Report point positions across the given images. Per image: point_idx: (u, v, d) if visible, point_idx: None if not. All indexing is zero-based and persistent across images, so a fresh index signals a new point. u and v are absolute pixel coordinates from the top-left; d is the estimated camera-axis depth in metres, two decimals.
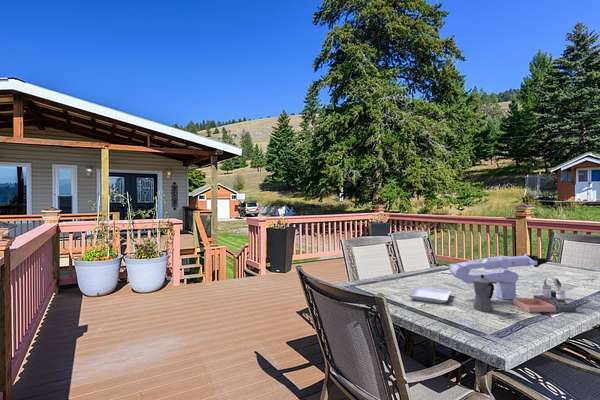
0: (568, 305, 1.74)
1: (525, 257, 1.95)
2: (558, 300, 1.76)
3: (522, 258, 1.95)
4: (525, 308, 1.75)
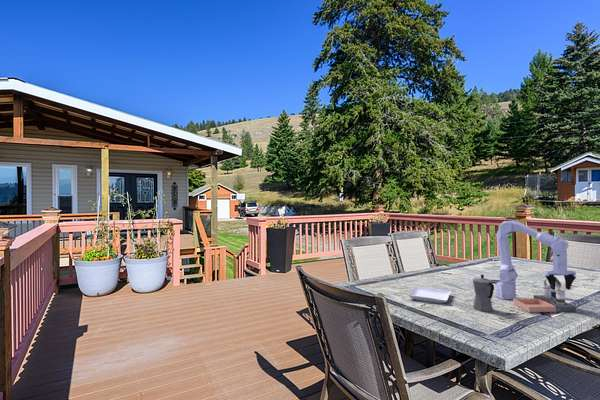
0: (568, 305, 1.74)
1: (560, 270, 1.74)
2: (558, 300, 1.76)
3: (558, 266, 1.75)
4: (525, 308, 1.75)
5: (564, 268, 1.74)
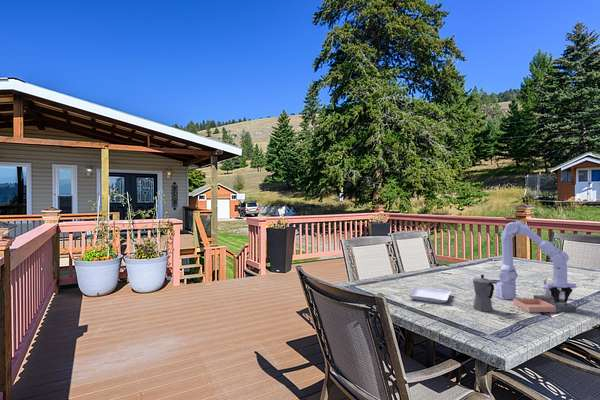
0: (568, 305, 1.74)
1: (560, 283, 1.74)
2: None
3: (558, 279, 1.75)
4: (525, 308, 1.75)
5: (564, 281, 1.74)
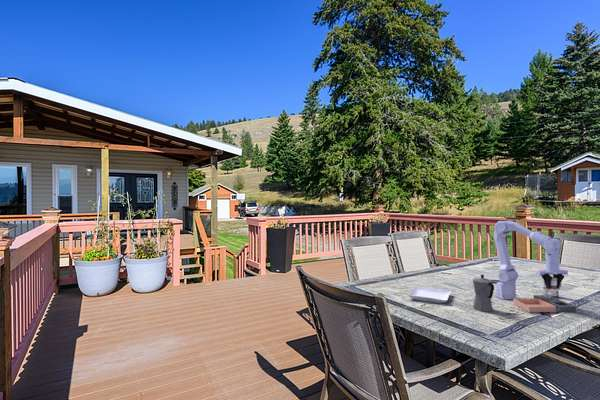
0: (568, 305, 1.74)
1: (552, 270, 1.75)
2: None
3: (551, 266, 1.75)
4: (525, 308, 1.75)
5: (556, 267, 1.74)
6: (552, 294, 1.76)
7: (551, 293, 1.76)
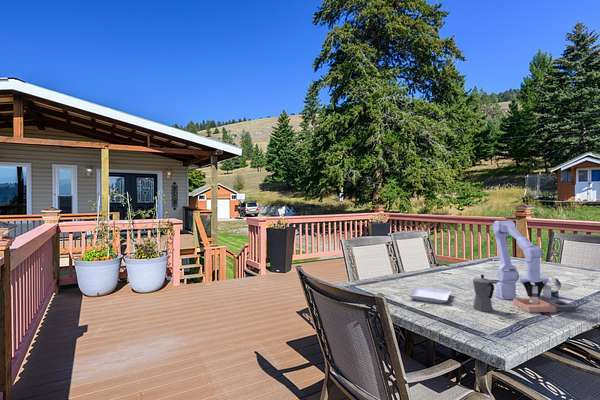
0: (568, 305, 1.74)
1: (532, 278, 1.76)
2: None
3: (531, 274, 1.76)
4: (525, 308, 1.75)
5: (537, 275, 1.75)
6: (533, 302, 1.77)
7: (532, 301, 1.77)
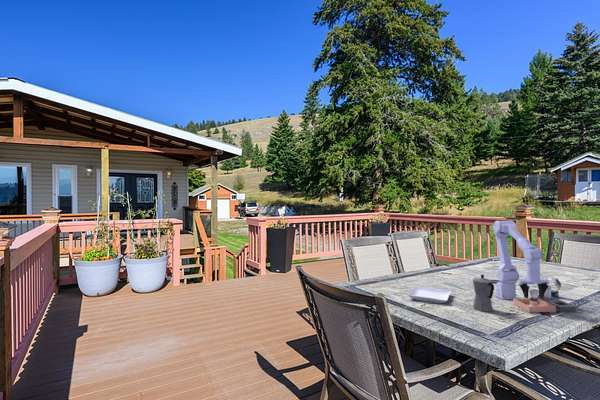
0: (568, 305, 1.74)
1: (532, 279, 1.76)
2: (531, 299, 1.77)
3: (531, 275, 1.76)
4: (525, 308, 1.75)
5: (537, 277, 1.75)
6: None
7: None
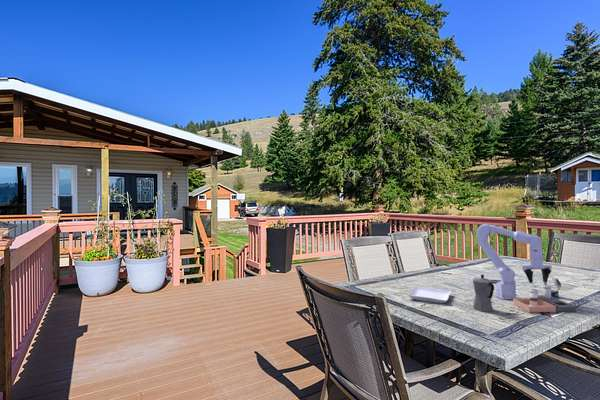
0: (568, 305, 1.74)
1: (536, 265, 1.87)
2: (531, 299, 1.77)
3: (534, 261, 1.87)
4: (525, 308, 1.75)
5: (540, 262, 1.86)
6: None
7: None
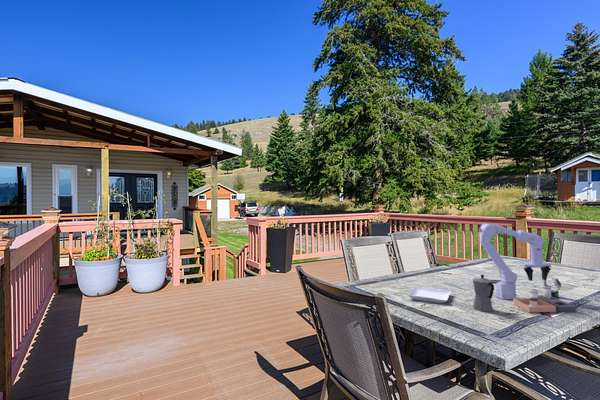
0: (568, 305, 1.74)
1: (536, 263, 1.91)
2: (531, 299, 1.77)
3: (535, 259, 1.92)
4: (525, 308, 1.75)
5: (540, 261, 1.91)
6: None
7: None
